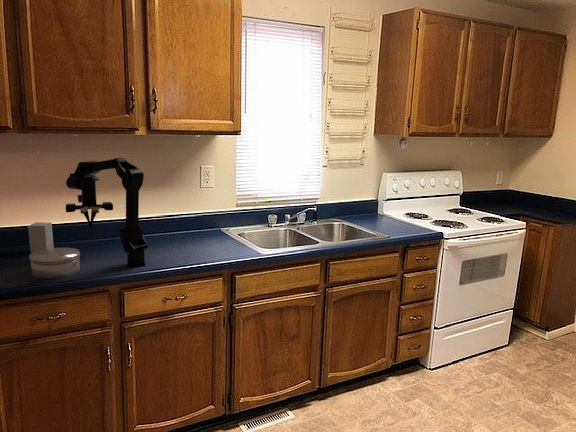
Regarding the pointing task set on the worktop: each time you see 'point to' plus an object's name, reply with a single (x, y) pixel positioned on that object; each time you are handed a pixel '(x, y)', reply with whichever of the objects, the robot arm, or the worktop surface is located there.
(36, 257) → the lid
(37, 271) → the cooker pot
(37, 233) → the supplement box
